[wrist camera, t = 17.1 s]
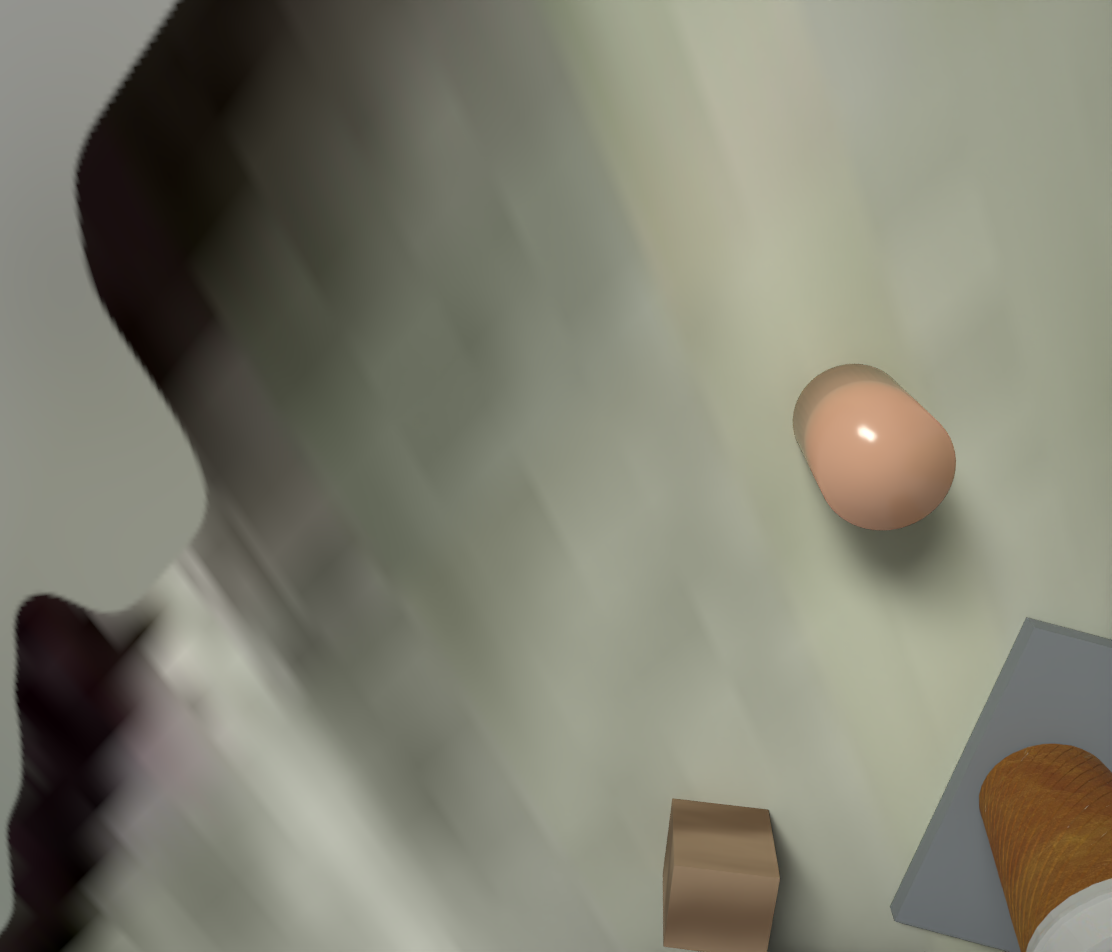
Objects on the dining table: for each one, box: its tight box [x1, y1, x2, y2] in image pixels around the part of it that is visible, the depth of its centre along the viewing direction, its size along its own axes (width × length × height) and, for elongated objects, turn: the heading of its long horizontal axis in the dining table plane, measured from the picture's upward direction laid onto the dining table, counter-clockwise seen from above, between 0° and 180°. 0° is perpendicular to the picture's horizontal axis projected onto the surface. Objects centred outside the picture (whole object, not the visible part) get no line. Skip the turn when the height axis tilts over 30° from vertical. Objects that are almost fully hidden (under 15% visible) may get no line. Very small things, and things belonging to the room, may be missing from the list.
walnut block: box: [663, 799, 780, 952], centre depth 48 cm, size 5×5×5 cm
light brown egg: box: [793, 364, 956, 530], centre depth 39 cm, size 5×5×7 cm
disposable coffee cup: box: [979, 744, 1112, 952], centre depth 40 cm, size 10×10×12 cm
